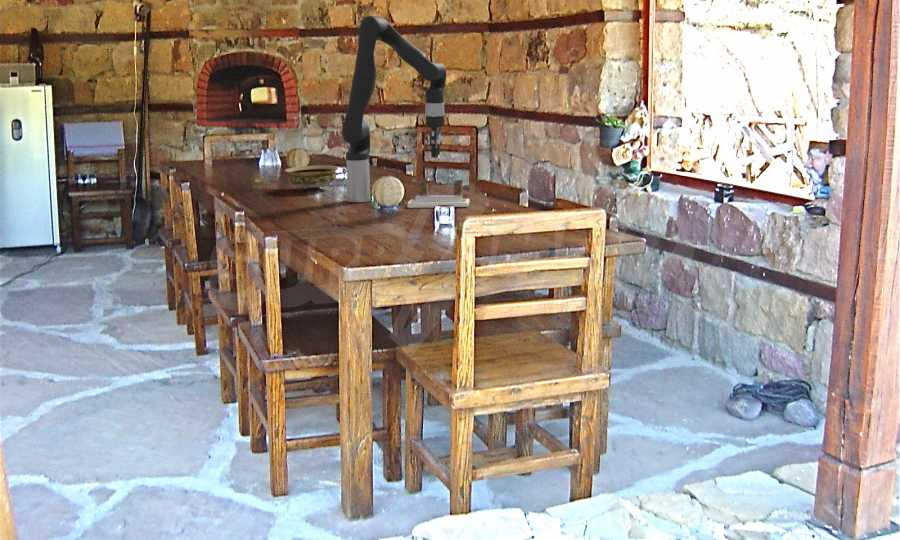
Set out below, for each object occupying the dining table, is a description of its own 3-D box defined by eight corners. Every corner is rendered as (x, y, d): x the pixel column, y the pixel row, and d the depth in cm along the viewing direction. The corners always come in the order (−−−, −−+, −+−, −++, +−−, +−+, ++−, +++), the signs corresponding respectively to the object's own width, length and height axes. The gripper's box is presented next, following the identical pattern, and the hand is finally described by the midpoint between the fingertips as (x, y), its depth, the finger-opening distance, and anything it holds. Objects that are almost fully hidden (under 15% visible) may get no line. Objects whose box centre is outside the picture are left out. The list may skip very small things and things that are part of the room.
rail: (415, 205, 385) (415, 196, 384) (416, 204, 388) (416, 195, 387) (461, 205, 383) (460, 196, 382) (461, 203, 386) (461, 195, 385)
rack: (416, 203, 393) (415, 182, 391) (418, 201, 398) (417, 180, 397) (465, 203, 391) (464, 181, 389) (466, 200, 396) (466, 179, 395)
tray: (407, 208, 382) (407, 203, 381) (411, 204, 391) (410, 199, 391) (467, 207, 379) (467, 202, 379) (469, 203, 389) (469, 198, 388)
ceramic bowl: (275, 189, 446) (274, 167, 444) (323, 184, 458) (322, 163, 456) (301, 196, 421) (300, 173, 419) (351, 191, 433) (350, 169, 431)
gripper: (427, 113, 388) (428, 154, 391) (422, 116, 374) (423, 158, 377) (446, 113, 387) (447, 154, 390) (442, 115, 373) (442, 158, 377)
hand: (435, 156), depth 384 cm, fingers open, 8 cm apart
